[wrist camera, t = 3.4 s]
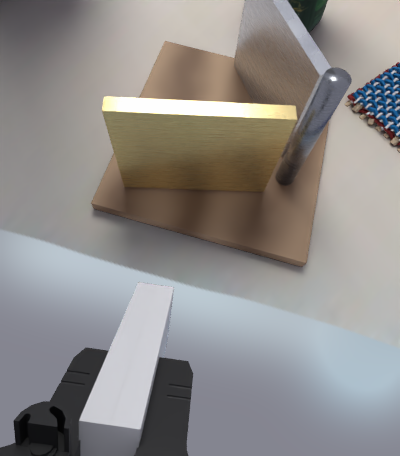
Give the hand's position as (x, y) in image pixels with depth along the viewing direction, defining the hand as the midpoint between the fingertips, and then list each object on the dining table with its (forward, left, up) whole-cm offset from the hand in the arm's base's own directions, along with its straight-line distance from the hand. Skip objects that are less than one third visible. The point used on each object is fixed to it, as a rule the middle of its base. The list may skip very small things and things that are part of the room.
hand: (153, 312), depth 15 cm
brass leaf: (-12, +7, -13) cm, 19 cm away
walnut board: (-16, +13, -15) cm, 25 cm away
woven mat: (-13, +34, -16) cm, 40 cm away
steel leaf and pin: (-17, +17, -15) cm, 28 cm away
